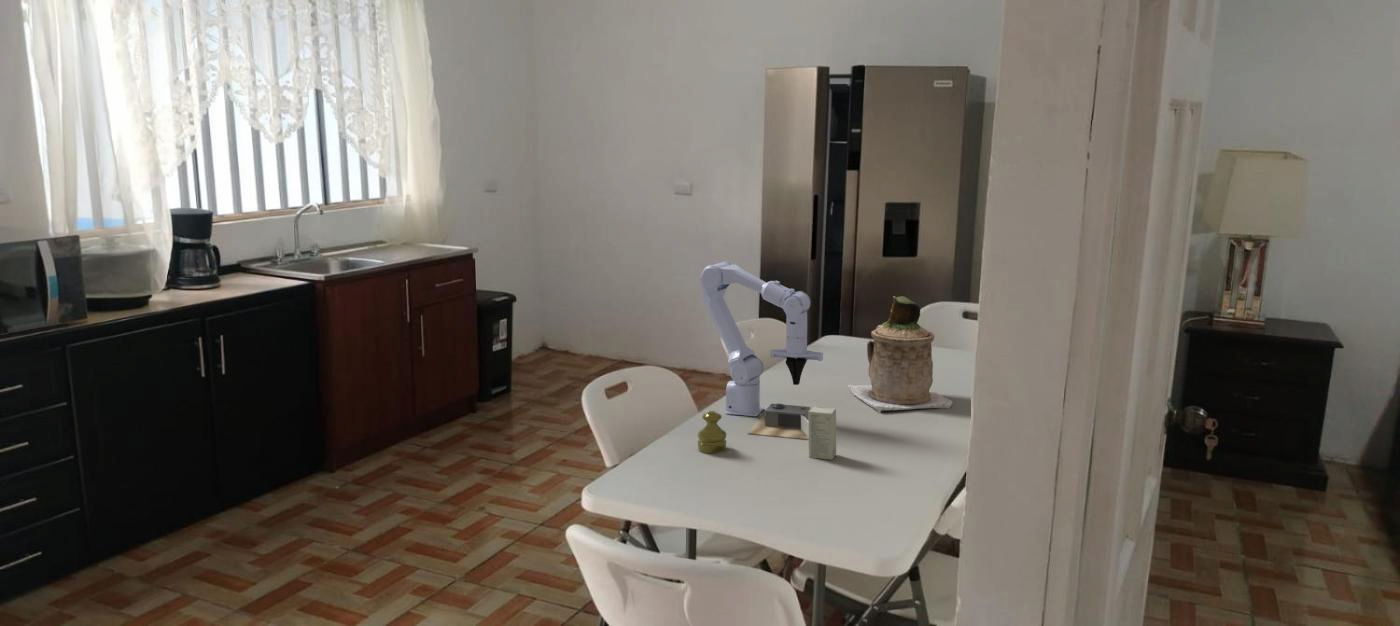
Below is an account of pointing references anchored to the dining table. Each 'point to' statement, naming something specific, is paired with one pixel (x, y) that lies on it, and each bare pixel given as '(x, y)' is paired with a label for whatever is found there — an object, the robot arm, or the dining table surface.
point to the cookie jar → (900, 363)
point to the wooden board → (776, 431)
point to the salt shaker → (712, 434)
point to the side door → (805, 425)
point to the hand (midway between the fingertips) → (796, 383)
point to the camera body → (785, 416)
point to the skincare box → (822, 432)
